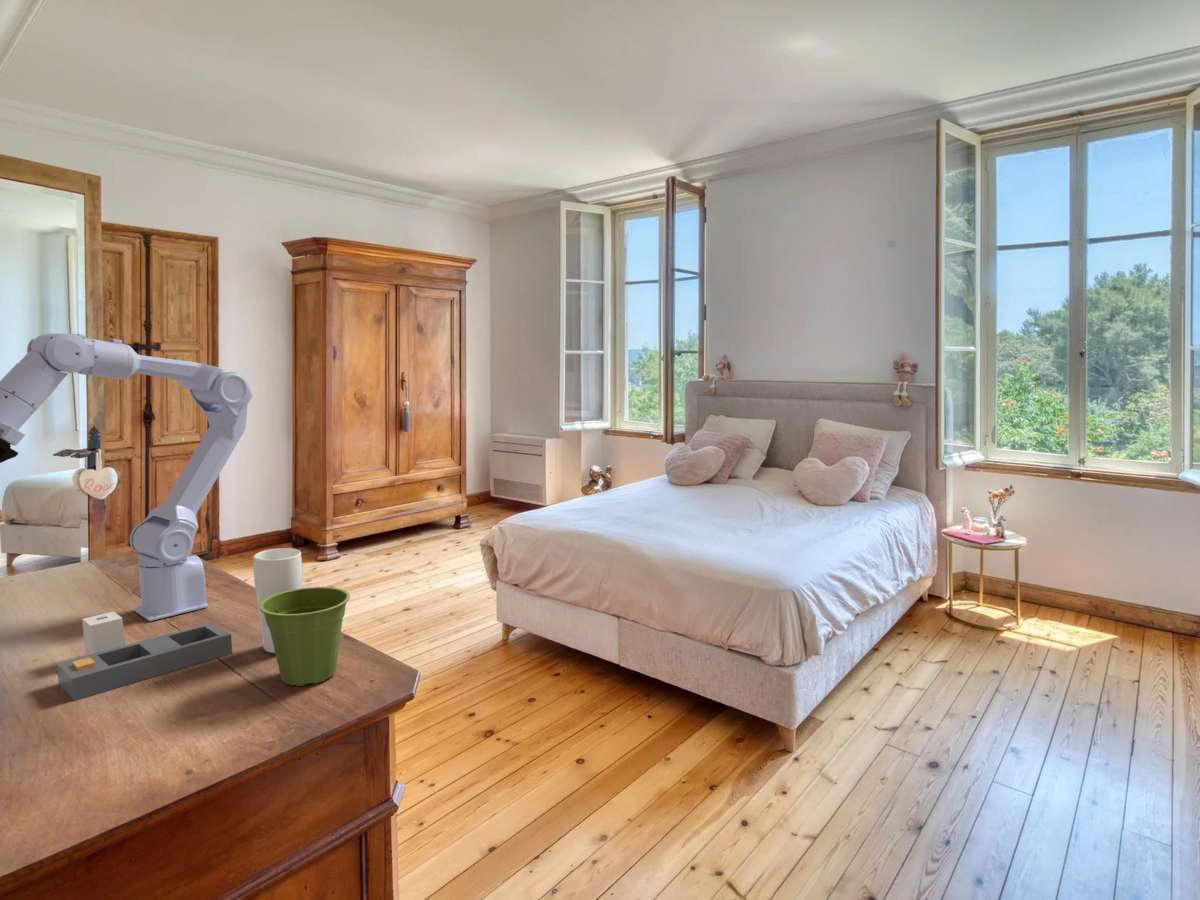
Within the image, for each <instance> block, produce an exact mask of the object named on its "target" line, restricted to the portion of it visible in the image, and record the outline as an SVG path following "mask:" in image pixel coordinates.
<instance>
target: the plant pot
mask: <svg viewBox="0 0 1200 900" xmlns="http://www.w3.org/2000/svg"><path fill="white" fill-rule="evenodd" d="M350 599H351V594H350V592H348V591H347V590H345V589H342V588H339V587H333V586H332V587H331V586H330V587H329V586H311V587H310V586H309V587H302V588H299V589H293V590H288V591H284V592H280V593H277V594H274V595H271V596H269V597H267V598H265V599H264V600H263V601H261V602H260V604H259V609H260V610H261V611H262V612H263V613H264V615H265V619H266V623H267V625H268V627H269V629H270V633H271V637H272V641H273V646H274V650H275V653H274V654H275V658H276V662H277V665H278V666H277V667H278V670H279V675H280V677H281V681H282V682H283V683H284V684H287V685H289V686H294V685H296V687H301V686H305V685H307V684H319V683H318V682H320V683H322V682H321V681H323V680H325V681H326V679H327V680H329V679H330V678H332V677H333V676H334V675H335V674H336V671H337V666H338V658H339V650H340V642H341V634H342V633H341V632H342V626H343V619H344V617H345V613H346V605H347V603H348V602H349V600H350ZM334 673H335V674H334ZM333 674H334V675H333ZM332 675H333V676H332ZM331 676H332V677H331ZM329 677H330V678H329ZM328 678H329V679H328ZM323 682H324V681H323Z"/></svg>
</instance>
